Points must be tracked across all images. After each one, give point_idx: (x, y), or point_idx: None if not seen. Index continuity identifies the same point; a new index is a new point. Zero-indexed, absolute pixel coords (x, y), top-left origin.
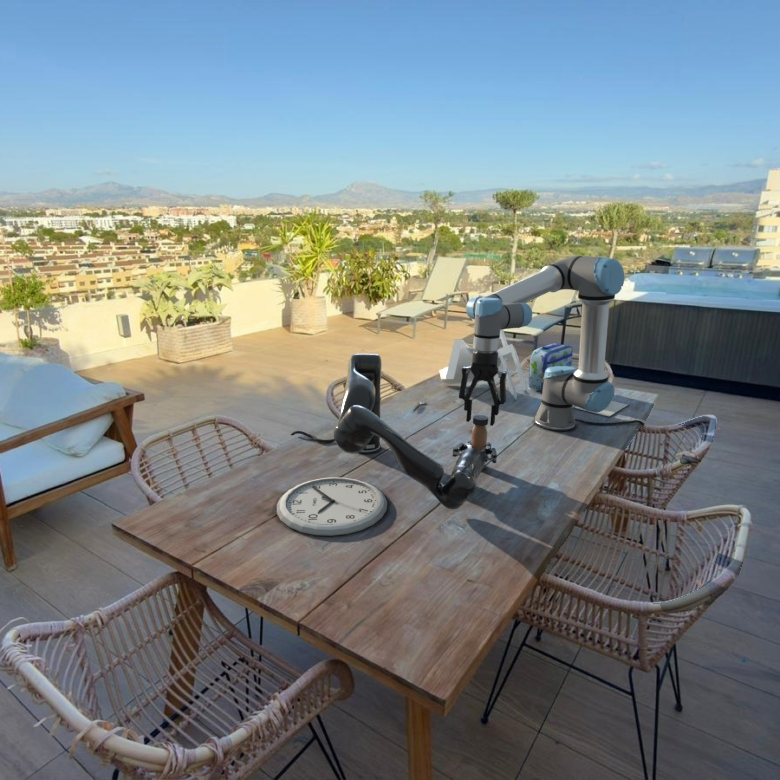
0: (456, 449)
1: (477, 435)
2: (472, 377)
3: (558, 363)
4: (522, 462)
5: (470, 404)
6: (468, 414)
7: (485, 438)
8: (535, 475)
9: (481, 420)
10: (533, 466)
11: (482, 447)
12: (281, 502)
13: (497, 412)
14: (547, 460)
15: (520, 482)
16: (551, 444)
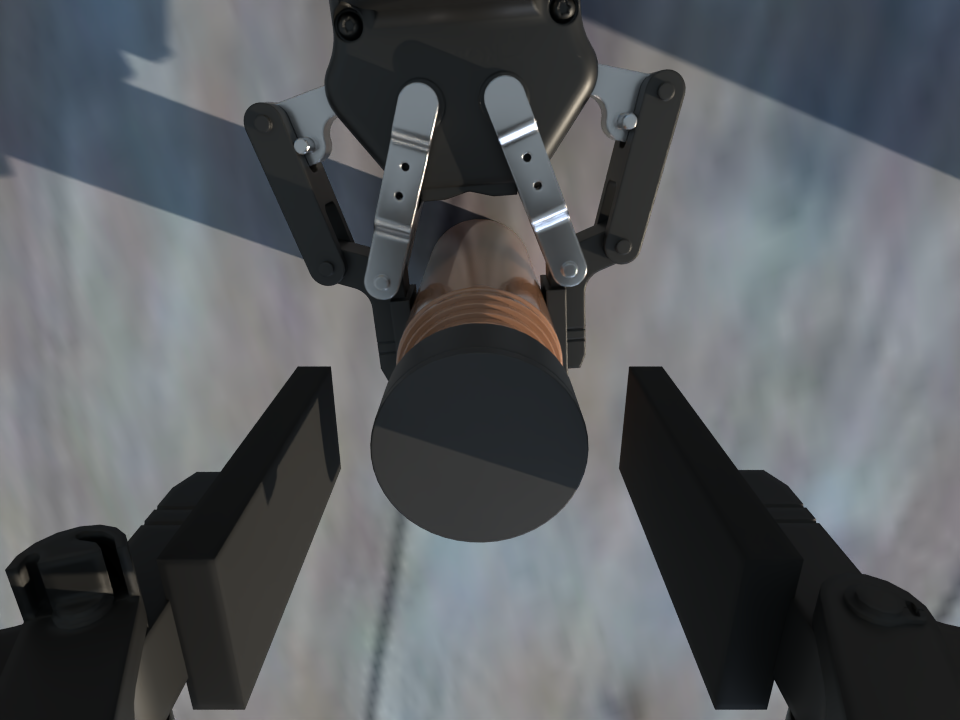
0: (647, 84)
1: (481, 282)
2: None
3: None
4: None
5: (708, 562)
6: (669, 415)
7: (407, 320)
8: (104, 307)
9: (440, 357)
10: (164, 423)
11: (413, 215)
12: None
13: (167, 504)
14: (126, 530)
15: (145, 158)
16: (184, 713)
